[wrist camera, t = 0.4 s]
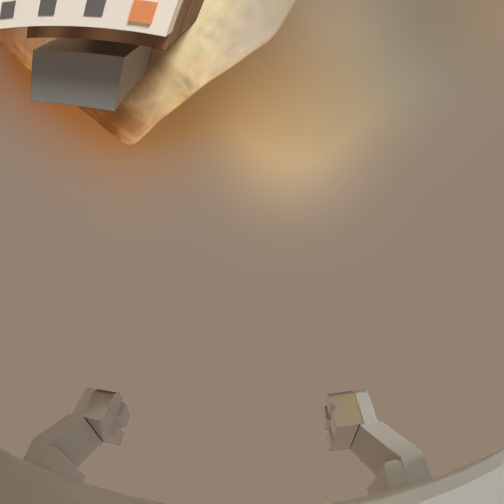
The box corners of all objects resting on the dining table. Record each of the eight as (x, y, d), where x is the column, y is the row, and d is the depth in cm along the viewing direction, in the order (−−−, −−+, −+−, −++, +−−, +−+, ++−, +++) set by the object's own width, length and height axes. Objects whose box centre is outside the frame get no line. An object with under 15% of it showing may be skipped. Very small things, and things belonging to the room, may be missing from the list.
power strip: (-32, 28, 13) (-51, 37, 11) (-28, -2, 10) (-48, 5, 8) (172, 31, 21) (164, 37, 19) (185, -6, 18) (179, -5, 16)
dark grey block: (79, 63, 41) (30, 100, 30) (85, 25, 36) (33, 50, 24) (145, 72, 46) (114, 111, 34) (156, 33, 40) (124, 57, 29)
